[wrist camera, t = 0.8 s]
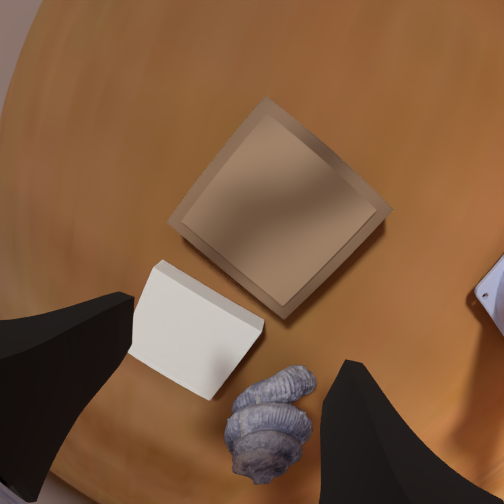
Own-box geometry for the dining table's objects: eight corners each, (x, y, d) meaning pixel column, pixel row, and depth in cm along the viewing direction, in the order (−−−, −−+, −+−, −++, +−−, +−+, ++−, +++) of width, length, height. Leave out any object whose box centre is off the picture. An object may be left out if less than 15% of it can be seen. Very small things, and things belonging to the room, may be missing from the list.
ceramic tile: (264, 320, 21) (261, 331, 20) (214, 388, 24) (209, 400, 23) (162, 259, 21) (153, 267, 20) (129, 337, 24) (120, 347, 22)
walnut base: (384, 203, 18) (394, 209, 16) (285, 304, 21) (283, 321, 19) (269, 101, 17) (265, 95, 15) (178, 215, 20) (165, 222, 18)
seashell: (290, 405, 23) (277, 511, 14) (232, 377, 23) (195, 481, 14) (330, 363, 22) (335, 477, 12) (266, 329, 22) (239, 443, 12)
